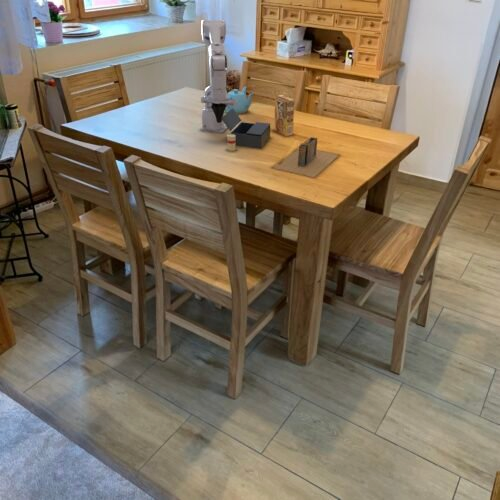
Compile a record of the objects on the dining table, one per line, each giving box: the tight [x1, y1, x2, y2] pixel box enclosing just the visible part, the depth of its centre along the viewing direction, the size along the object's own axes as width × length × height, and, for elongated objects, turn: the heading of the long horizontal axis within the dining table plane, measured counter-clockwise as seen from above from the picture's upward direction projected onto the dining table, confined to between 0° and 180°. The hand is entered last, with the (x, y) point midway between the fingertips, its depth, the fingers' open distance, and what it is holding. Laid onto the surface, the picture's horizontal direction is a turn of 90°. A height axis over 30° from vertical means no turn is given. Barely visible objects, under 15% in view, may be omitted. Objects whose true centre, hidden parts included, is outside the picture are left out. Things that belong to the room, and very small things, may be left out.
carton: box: [230, 121, 271, 149], centre depth 207 cm, size 13×15×6 cm
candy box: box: [273, 94, 296, 137], centre depth 214 cm, size 9×4×15 cm, turn 33°
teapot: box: [224, 86, 254, 115], centre depth 242 cm, size 15×15×10 cm
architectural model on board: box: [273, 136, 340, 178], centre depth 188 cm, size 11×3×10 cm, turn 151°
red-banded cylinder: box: [226, 133, 237, 152], centre depth 198 cm, size 3×3×6 cm
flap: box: [221, 108, 242, 132], centre depth 206 cm, size 6×15×1 cm
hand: (219, 122), depth 202 cm, fingers closed
